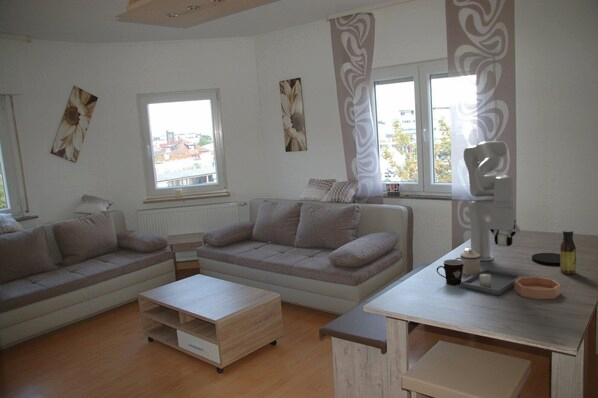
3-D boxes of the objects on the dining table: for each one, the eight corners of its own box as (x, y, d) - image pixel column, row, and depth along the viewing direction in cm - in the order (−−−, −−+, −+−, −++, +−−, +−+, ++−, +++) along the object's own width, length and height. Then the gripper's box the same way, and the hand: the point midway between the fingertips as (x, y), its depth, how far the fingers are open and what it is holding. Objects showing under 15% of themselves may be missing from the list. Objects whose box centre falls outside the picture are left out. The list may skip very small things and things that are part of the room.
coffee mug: (463, 280, 209) (463, 259, 207) (464, 286, 201) (463, 265, 199) (437, 279, 213) (437, 259, 211) (436, 285, 204) (436, 264, 203)
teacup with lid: (482, 271, 220) (481, 248, 218) (478, 276, 212) (478, 252, 211) (456, 268, 226) (456, 246, 224) (452, 274, 218) (452, 250, 217)
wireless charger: (533, 265, 224) (533, 261, 224) (530, 255, 240) (530, 252, 240) (575, 267, 217) (575, 263, 217) (568, 257, 234) (568, 253, 233)
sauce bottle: (577, 274, 206) (579, 232, 203) (563, 274, 207) (563, 232, 204) (572, 270, 212) (573, 229, 209) (557, 270, 214) (558, 229, 211)
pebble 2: (495, 245, 201) (495, 234, 200) (500, 243, 204) (500, 232, 203) (506, 246, 197) (506, 235, 197) (510, 244, 200) (510, 233, 200)
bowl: (509, 293, 190) (509, 284, 189) (524, 282, 200) (524, 274, 200) (550, 302, 178) (550, 292, 177) (564, 290, 189) (564, 281, 188)
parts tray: (460, 287, 200) (460, 282, 199) (485, 273, 216) (485, 268, 215) (498, 296, 187) (498, 290, 187) (522, 280, 203) (522, 275, 203)
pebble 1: (477, 286, 198) (477, 275, 197) (482, 283, 201) (482, 273, 200) (488, 288, 194) (487, 277, 193) (492, 285, 197) (492, 274, 196)
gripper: (480, 204, 202) (481, 243, 205) (519, 207, 189) (519, 249, 192) (488, 201, 207) (488, 240, 209) (526, 204, 194) (526, 245, 197)
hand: (503, 244), depth 201 cm, fingers closed on pebble 2, 4 cm apart
